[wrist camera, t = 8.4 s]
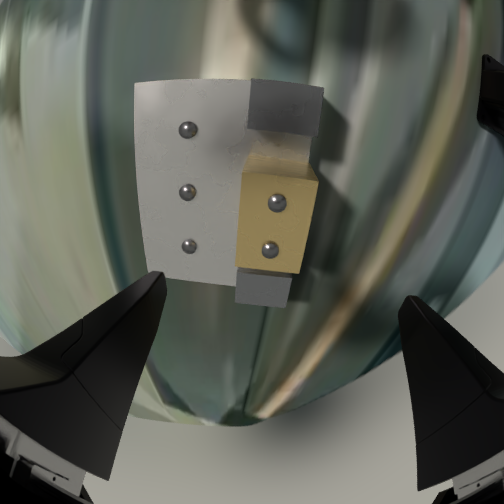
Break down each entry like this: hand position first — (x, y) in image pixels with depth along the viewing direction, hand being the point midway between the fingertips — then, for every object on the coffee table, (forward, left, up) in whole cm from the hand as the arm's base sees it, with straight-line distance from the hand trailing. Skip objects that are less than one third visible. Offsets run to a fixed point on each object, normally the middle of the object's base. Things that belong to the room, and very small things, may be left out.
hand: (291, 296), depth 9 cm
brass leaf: (+1, +1, -11) cm, 11 cm away
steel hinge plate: (+5, +1, -12) cm, 13 cm away
